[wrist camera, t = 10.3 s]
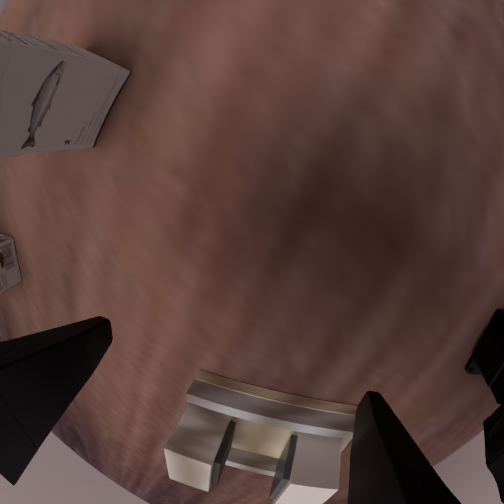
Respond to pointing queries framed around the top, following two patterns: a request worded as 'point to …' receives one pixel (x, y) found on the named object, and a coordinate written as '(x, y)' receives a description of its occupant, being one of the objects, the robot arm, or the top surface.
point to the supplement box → (52, 94)
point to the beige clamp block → (245, 428)
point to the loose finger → (307, 470)
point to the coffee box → (8, 263)
